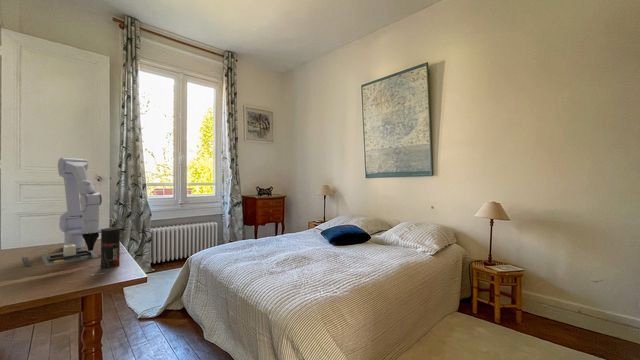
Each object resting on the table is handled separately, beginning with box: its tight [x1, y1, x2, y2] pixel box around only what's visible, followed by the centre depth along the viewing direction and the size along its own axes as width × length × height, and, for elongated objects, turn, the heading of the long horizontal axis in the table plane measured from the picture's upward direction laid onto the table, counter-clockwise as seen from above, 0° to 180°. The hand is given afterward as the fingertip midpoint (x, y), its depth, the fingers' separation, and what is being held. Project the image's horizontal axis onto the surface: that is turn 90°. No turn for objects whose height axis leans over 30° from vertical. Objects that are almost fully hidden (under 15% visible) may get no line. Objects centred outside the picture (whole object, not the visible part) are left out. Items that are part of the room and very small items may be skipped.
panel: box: [40, 247, 99, 267], centre depth 117 cm, size 20×16×2 cm
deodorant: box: [100, 227, 121, 270], centre depth 109 cm, size 6×6×15 cm
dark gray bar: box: [22, 256, 32, 268], centre depth 108 cm, size 16×1×1 cm, turn 50°
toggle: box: [62, 244, 77, 257], centre depth 117 cm, size 4×4×5 cm
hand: (90, 250), depth 122 cm, fingers closed
